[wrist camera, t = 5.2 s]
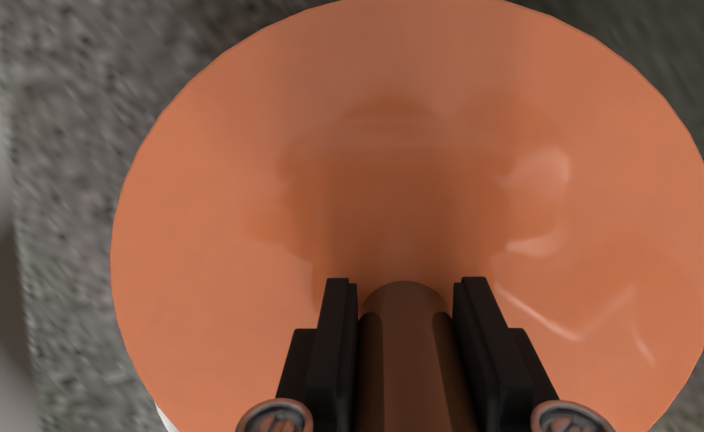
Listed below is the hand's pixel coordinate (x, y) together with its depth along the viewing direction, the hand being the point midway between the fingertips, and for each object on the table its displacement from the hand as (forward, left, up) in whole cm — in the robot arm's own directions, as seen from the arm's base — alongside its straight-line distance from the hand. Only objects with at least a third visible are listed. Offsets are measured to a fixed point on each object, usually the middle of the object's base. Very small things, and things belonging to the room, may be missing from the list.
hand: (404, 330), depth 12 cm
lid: (0, 0, -1) cm, 1 cm away
